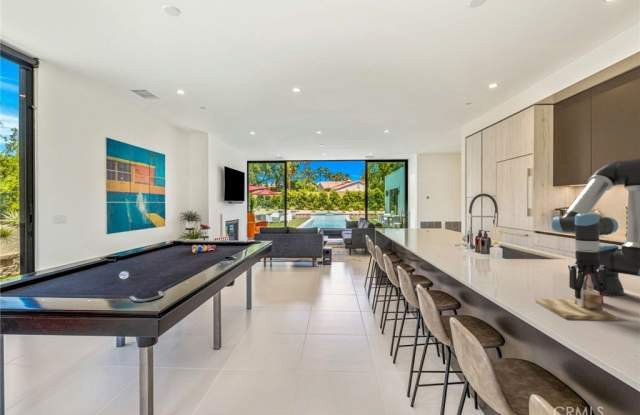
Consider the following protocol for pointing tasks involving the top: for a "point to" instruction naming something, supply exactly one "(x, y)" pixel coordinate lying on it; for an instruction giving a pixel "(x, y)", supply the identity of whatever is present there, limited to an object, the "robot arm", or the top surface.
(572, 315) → the board
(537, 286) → the top surface
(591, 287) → the beverage can
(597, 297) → the block
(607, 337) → the top surface
